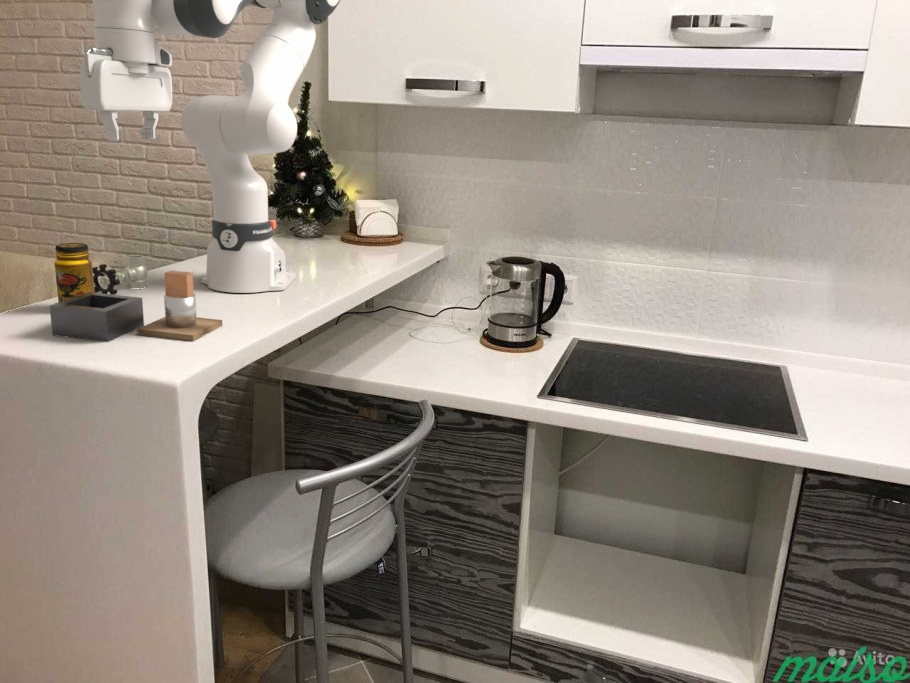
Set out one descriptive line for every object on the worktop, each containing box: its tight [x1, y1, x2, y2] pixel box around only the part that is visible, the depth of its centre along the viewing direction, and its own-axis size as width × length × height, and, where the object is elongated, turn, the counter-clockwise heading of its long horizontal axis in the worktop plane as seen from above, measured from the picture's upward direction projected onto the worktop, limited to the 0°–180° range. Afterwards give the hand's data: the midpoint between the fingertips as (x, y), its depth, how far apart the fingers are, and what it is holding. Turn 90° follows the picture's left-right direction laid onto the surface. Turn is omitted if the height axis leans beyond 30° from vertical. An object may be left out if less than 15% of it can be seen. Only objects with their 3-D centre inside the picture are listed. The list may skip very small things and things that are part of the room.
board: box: [137, 316, 223, 342], centre depth 129 cm, size 10×10×1 cm
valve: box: [92, 254, 149, 295], centre depth 152 cm, size 7×7×12 cm
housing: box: [49, 292, 145, 343], centre depth 126 cm, size 10×10×5 cm
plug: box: [163, 270, 197, 328], centre depth 128 cm, size 5×5×9 cm
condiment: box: [54, 242, 95, 303], centre depth 137 cm, size 7×8×12 cm
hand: (132, 140), depth 124 cm, fingers open, 8 cm apart
